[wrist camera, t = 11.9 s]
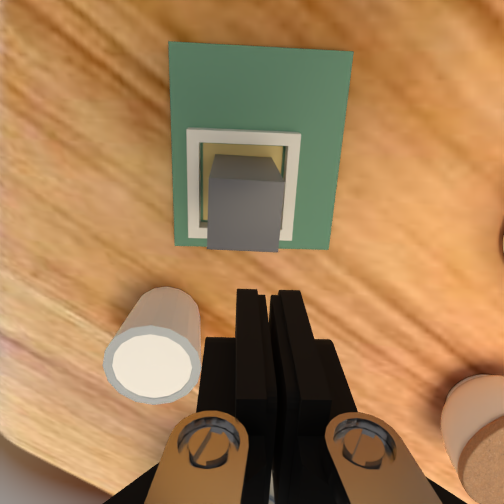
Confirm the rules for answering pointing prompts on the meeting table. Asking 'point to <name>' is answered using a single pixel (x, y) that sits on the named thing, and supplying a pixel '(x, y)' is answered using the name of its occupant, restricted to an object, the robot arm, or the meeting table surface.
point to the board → (258, 129)
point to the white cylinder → (156, 348)
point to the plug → (244, 204)
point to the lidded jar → (477, 435)
